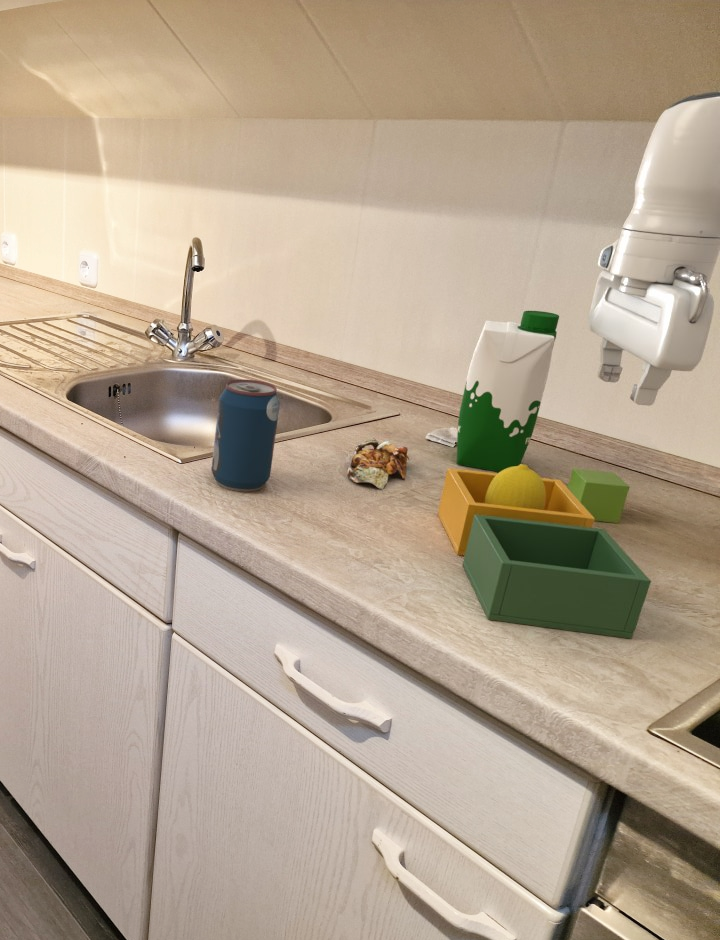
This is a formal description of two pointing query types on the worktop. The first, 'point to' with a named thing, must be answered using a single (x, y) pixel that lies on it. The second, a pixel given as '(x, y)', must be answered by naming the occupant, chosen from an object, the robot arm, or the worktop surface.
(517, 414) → the milk carton
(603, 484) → the green block
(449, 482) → the ochre bin
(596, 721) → the worktop surface
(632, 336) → the robot arm
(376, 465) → the pastry
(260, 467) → the soda can
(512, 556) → the green bin
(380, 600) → the worktop surface
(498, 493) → the lemon
